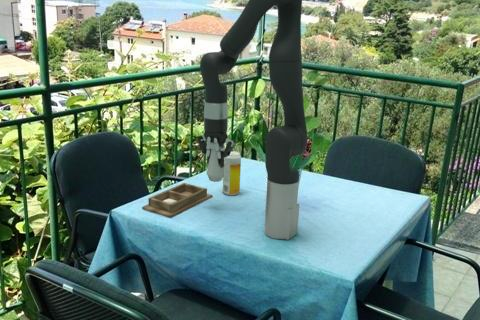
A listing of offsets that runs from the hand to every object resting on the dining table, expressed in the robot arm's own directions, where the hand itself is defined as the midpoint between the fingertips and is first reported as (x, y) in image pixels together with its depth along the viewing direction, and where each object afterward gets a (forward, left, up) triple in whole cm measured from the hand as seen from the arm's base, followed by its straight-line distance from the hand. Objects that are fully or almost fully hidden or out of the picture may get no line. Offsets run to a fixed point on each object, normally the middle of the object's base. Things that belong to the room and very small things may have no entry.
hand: (215, 167), depth 168 cm
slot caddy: (+12, +4, -14) cm, 19 cm away
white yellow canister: (+3, -15, -15) cm, 21 cm away
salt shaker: (0, 0, -4) cm, 4 cm away
